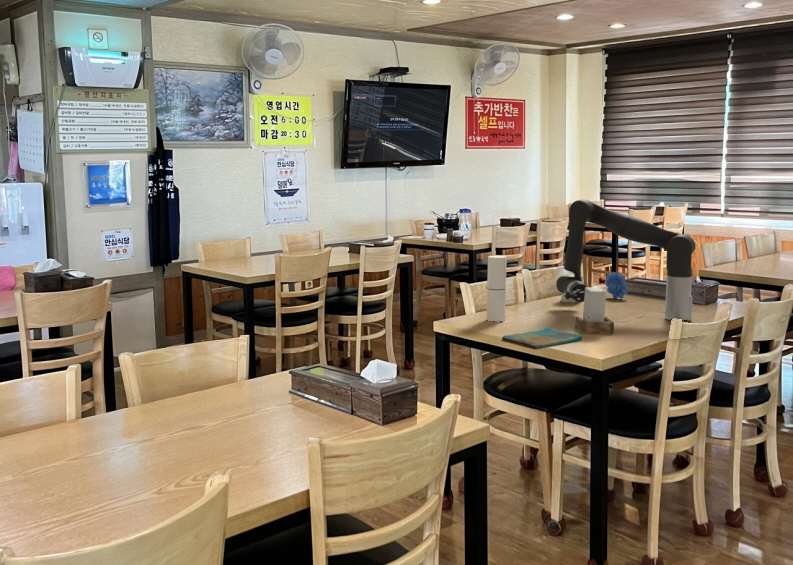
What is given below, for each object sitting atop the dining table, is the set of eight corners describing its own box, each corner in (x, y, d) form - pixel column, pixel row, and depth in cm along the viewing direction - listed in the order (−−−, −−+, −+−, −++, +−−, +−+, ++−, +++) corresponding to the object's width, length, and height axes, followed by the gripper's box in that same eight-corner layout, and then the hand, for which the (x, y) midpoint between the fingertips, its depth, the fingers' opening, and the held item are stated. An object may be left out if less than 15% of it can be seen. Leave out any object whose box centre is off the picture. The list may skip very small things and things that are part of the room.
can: (557, 299, 356) (558, 273, 354) (575, 298, 359) (576, 272, 357) (567, 303, 348) (568, 276, 346) (586, 302, 350) (587, 275, 348)
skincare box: (581, 326, 297) (583, 286, 295) (597, 326, 297) (599, 286, 295) (588, 331, 289) (590, 290, 286) (605, 330, 289) (606, 290, 287)
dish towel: (584, 341, 276) (584, 334, 276) (536, 351, 263) (536, 343, 262) (547, 333, 290) (547, 326, 290) (500, 341, 276) (500, 334, 276)
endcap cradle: (605, 327, 298) (606, 316, 297) (613, 333, 287) (614, 322, 286) (575, 327, 298) (575, 316, 297) (581, 333, 287) (582, 322, 286)
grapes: (599, 297, 362) (600, 271, 360) (607, 296, 367) (608, 270, 365) (621, 301, 354) (623, 274, 352) (629, 299, 358) (631, 273, 356)
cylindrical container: (490, 322, 306) (492, 258, 302) (483, 319, 312) (485, 255, 309) (507, 321, 307) (509, 257, 304) (500, 318, 314) (502, 255, 310)
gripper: (560, 281, 318) (569, 288, 302) (596, 282, 318) (606, 288, 302) (560, 300, 319) (568, 307, 303) (595, 300, 319) (606, 307, 303)
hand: (587, 298), depth 302 cm, fingers open, 8 cm apart
